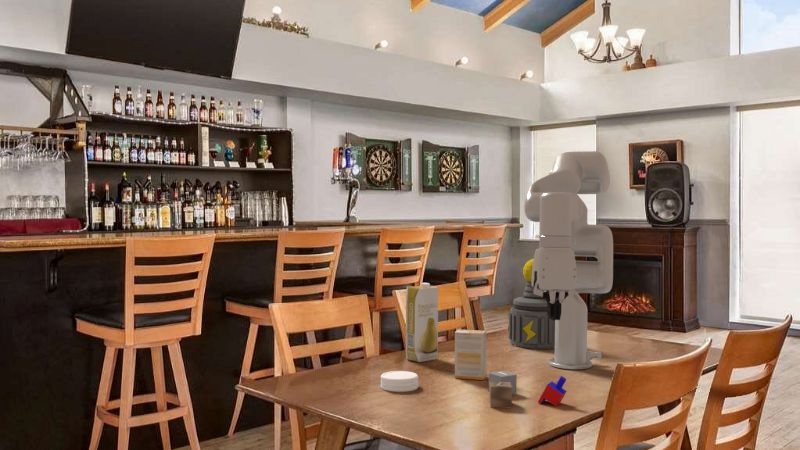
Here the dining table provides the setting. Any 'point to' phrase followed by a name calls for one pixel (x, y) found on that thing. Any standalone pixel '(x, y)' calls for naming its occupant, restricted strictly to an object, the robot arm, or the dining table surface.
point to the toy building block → (554, 392)
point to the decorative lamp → (530, 318)
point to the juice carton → (422, 323)
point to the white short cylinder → (399, 381)
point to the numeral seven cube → (500, 394)
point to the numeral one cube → (504, 378)
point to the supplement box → (470, 354)
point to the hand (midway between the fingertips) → (554, 319)
